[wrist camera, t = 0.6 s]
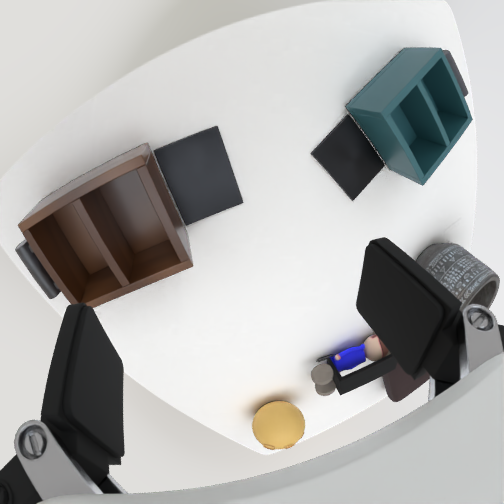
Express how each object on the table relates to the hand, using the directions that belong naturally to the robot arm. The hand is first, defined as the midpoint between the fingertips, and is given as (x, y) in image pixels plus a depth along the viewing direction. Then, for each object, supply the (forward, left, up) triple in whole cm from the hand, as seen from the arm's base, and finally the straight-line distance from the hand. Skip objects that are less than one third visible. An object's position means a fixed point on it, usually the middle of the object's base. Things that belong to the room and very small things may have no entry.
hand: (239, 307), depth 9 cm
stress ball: (+46, -4, -20) cm, 50 cm away
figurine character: (+38, +12, -20) cm, 45 cm away
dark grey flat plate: (+5, +16, -19) cm, 26 cm away
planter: (+27, +30, -20) cm, 45 cm away
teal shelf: (-1, +25, -19) cm, 32 cm away
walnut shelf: (+1, -10, -19) cm, 22 cm away
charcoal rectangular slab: (+1, 0, -19) cm, 19 cm away
